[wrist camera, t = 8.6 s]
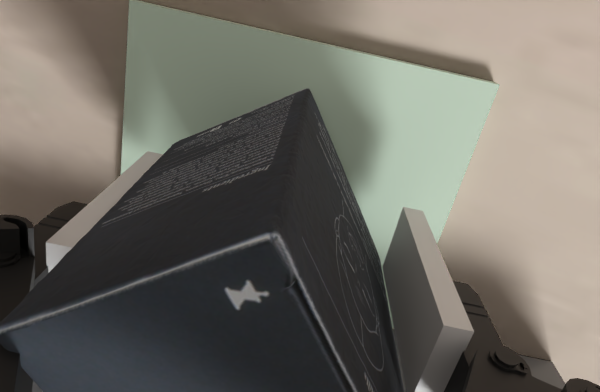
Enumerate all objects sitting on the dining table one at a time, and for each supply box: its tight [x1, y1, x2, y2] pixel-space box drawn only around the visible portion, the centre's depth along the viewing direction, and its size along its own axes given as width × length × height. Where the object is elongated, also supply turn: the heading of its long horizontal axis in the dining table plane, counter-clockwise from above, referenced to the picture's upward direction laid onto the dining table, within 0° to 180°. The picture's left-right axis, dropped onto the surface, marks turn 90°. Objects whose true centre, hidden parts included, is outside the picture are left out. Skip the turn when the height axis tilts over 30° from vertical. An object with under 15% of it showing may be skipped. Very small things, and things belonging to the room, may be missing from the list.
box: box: [0, 88, 405, 392], centre depth 13 cm, size 8×6×11 cm
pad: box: [121, 0, 499, 328], centre depth 20 cm, size 14×12×1 cm
